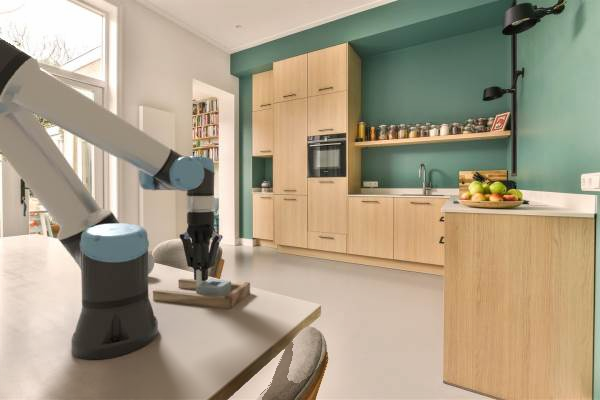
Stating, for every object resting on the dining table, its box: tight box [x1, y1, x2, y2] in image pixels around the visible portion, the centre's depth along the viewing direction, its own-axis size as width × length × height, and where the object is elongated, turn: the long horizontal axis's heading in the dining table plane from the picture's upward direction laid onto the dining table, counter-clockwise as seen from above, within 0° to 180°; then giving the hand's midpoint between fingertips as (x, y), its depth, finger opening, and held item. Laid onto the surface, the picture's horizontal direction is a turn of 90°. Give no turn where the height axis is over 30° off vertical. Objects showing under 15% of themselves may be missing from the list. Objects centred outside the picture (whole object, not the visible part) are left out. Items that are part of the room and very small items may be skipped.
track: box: [152, 278, 251, 310], centre depth 87 cm, size 12×24×3 cm, turn 75°
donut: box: [148, 250, 155, 275], centre depth 106 cm, size 10×4×10 cm, turn 84°
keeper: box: [195, 278, 232, 297], centre depth 86 cm, size 7×7×4 cm
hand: (201, 291), depth 87 cm, fingers closed
